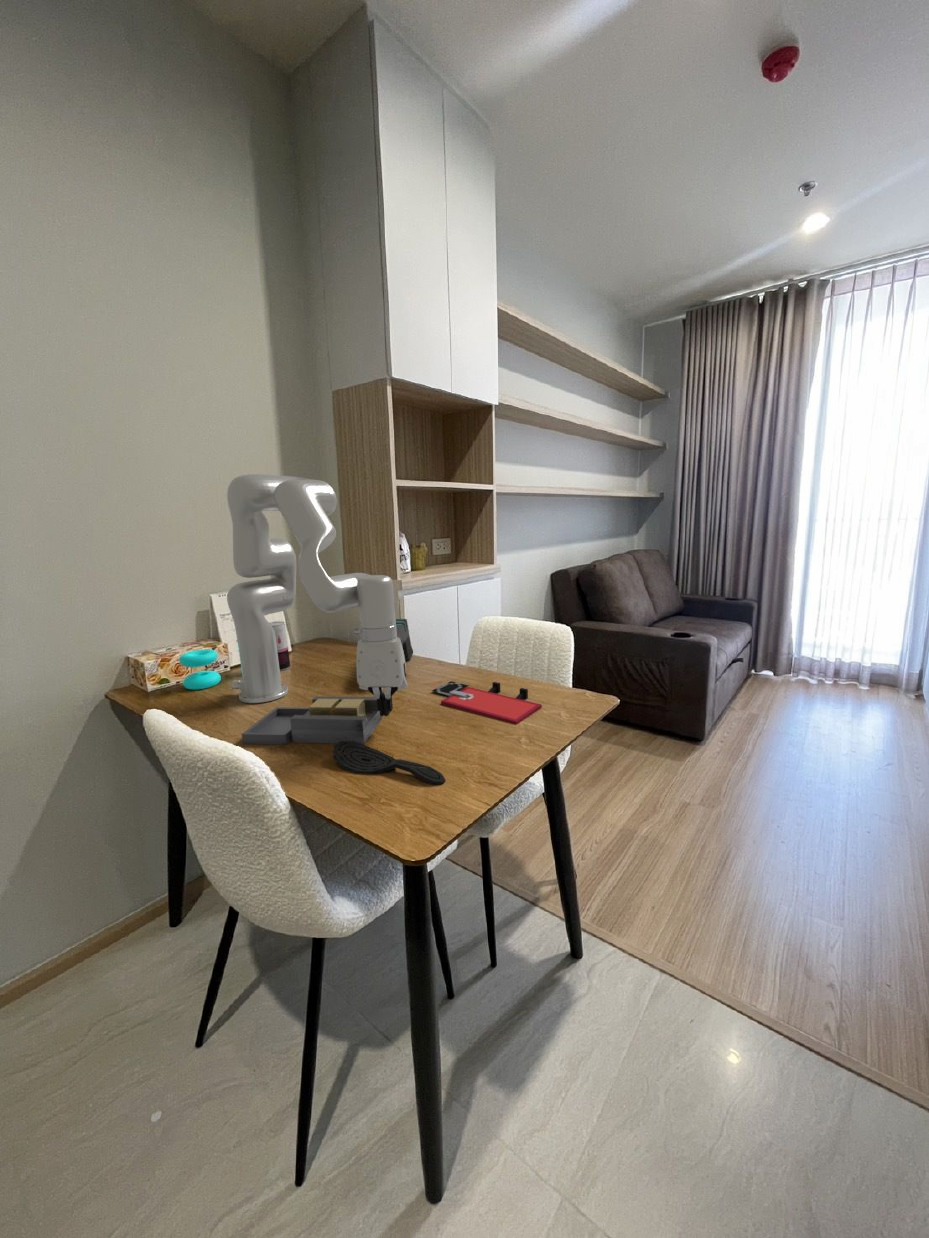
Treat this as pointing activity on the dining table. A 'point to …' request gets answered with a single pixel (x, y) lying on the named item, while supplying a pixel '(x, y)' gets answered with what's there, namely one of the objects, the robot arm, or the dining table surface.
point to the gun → (404, 638)
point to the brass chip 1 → (323, 707)
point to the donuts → (204, 677)
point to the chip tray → (273, 727)
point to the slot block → (336, 724)
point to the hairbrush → (380, 762)
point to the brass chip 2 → (350, 707)
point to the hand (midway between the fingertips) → (385, 713)
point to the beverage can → (281, 644)
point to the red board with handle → (488, 702)
